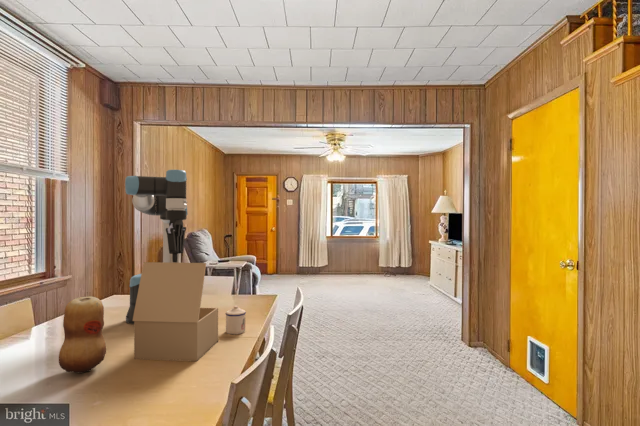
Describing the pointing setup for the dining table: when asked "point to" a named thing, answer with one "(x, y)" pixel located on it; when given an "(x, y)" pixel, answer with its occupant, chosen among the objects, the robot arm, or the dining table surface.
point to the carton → (176, 338)
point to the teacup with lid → (235, 320)
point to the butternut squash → (83, 335)
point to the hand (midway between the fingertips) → (176, 270)
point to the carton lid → (170, 292)
